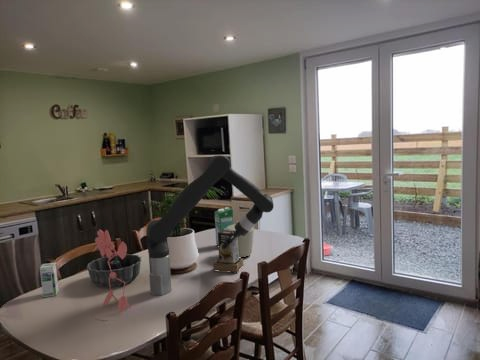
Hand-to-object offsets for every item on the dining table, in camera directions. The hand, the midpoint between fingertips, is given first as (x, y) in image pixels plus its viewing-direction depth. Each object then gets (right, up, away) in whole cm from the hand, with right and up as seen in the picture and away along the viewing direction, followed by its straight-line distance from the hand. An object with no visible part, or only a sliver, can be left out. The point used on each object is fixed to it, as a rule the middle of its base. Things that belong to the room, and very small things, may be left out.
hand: (225, 245), depth 193 cm
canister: (+8, -10, +22) cm, 26 cm away
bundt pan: (-55, -17, -9) cm, 59 cm away
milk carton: (-2, -8, +42) cm, 43 cm away
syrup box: (-81, -19, -23) cm, 87 cm away
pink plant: (-47, -20, -42) cm, 66 cm away
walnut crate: (+2, -13, +1) cm, 13 cm away
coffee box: (+2, -9, +1) cm, 9 cm away
